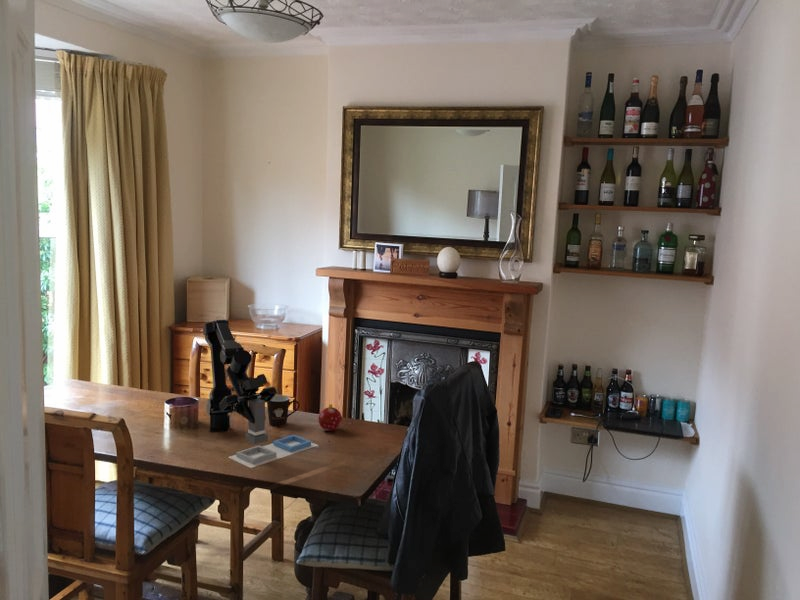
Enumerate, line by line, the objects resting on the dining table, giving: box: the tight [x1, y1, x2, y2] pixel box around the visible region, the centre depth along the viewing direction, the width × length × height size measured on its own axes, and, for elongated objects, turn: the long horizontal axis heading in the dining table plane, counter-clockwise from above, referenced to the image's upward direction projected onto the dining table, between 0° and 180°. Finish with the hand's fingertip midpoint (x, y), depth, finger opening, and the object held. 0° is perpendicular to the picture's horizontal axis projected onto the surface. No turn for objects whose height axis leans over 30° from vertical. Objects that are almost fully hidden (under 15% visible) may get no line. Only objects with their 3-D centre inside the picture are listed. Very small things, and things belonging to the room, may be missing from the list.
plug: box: [245, 399, 269, 445], centre depth 200 cm, size 5×5×13 cm
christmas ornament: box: [318, 403, 343, 432], centre depth 231 cm, size 9×9×10 cm
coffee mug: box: [266, 394, 300, 428], centre depth 236 cm, size 12×9×10 cm
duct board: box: [228, 434, 320, 469], centre depth 207 cm, size 28×12×2 cm, turn 140°
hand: (259, 421), depth 199 cm, fingers closed on plug, 4 cm apart
